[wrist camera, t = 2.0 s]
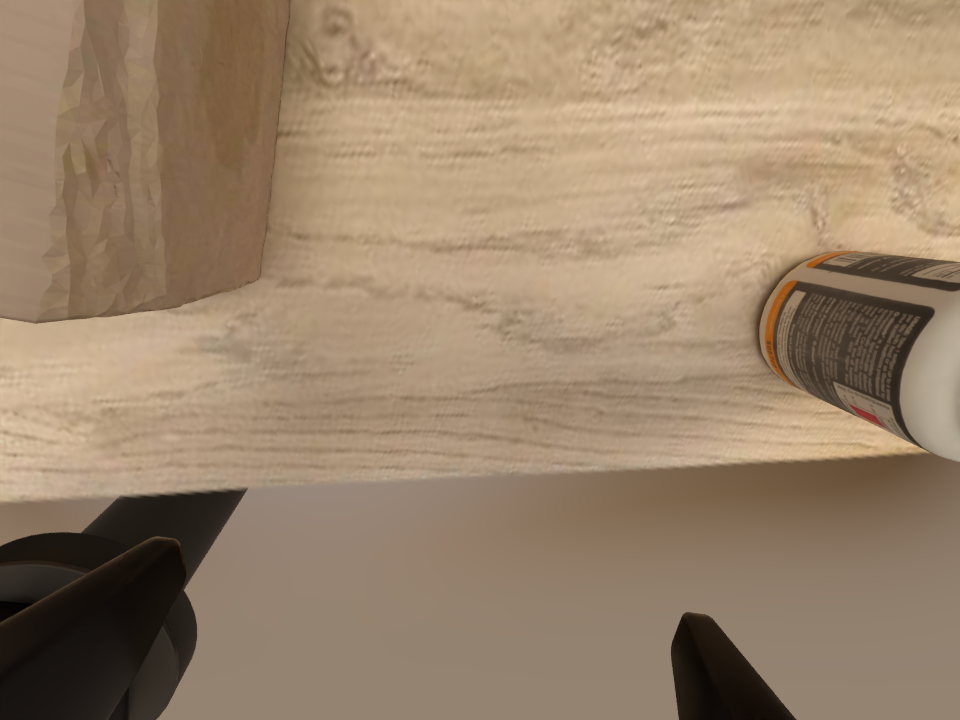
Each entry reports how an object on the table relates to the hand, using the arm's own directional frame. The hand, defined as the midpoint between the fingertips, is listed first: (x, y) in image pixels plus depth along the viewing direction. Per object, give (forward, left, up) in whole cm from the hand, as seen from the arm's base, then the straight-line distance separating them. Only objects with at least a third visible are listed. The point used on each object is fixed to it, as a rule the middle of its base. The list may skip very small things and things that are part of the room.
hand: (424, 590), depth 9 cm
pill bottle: (+5, -15, -12) cm, 20 cm away
